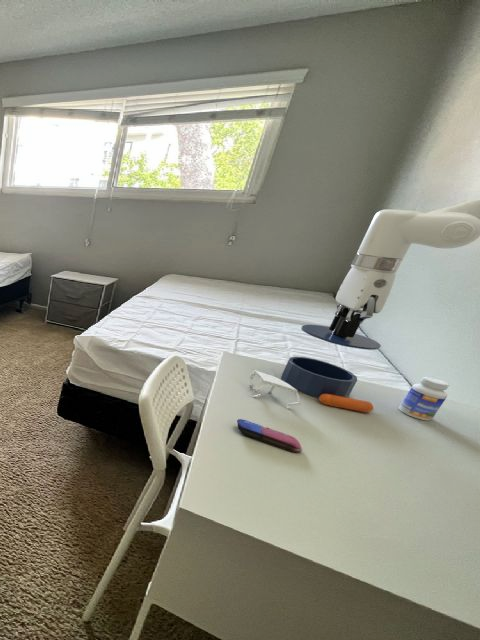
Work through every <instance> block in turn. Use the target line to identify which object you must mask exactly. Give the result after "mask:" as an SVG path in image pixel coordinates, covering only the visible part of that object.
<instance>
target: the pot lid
mask: <svg viewBox="0 0 480 640" xmlns="http://www.w3.org/2000/svg"><path fill="white" fill-rule="evenodd" d="M346 317H347V316H340V318H339V320H338V322H337V324H336V326H335V328H334V330H333V331H331V330H329V327H330V326H326V325H319V324H304V325H301V331H302V332H304V333H305V334H307V335H309V336H311V337H314V338H317V339H319V340H322V341H324V342H327V343H330V344H334V345H337V346H342V347H346V348H347V347H348V348H353V349H360V350H368V351H370V350H371V351H375V350H379V349H381V347H382V345H381V344H380V343H379V342H378V341H377V340H375V339H372V338H371V337H367V336H365V335H363V334H359V333H357V332H356V333H355V335H354V337H345V336H339V335H337V334H336V333H337V331H338V329H339V327H340V325H341V323H342V321H343V320H346Z"/></svg>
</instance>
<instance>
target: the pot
mask: <svg viewBox="0 0 480 640" xmlns="http://www.w3.org/2000/svg"><path fill="white" fill-rule="evenodd" d="M280 380H282V381H284V382H286V383H288V384H289V385H291V386H292V387H293V388H295V389H296V390H297V391H298V392H300V393H302V394H305V395H307V396H310V397H314V398H318V399H319V397H320V396H321V395H322V394H331V395H337V396H342V397H347V398H350V395H351V393H352V391H353V389H354V387H355V385H356V384H357V382H358V376H357V375H355V374H354V373H353V372H351V371H350V370H347V369H345V368H343V367H341V366H338V365H335V364H332V363H330V362H327V361H323V360H320V359H316V358H311V357H306V356H292V357H289V358H288V360H287V362H286V365H285V367H284V369H283V371H282V373H281V376H280Z"/></svg>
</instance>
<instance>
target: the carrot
mask: <svg viewBox="0 0 480 640" xmlns="http://www.w3.org/2000/svg"><path fill="white" fill-rule="evenodd" d="M318 399H319V402H320V403H322V404H323V405H325V406H330V407H336V408H340V409H346V410H349V411H351V410H352V411H356V412H361V413H370V412H373V410H374V409H375V408H374V404H373V403H372V402H370V401H367V400H363V399H358V398H352V397H348V398H347V397H342V396H337V395H331V394H322V395H321V396H320V397H319V398H318Z"/></svg>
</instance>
